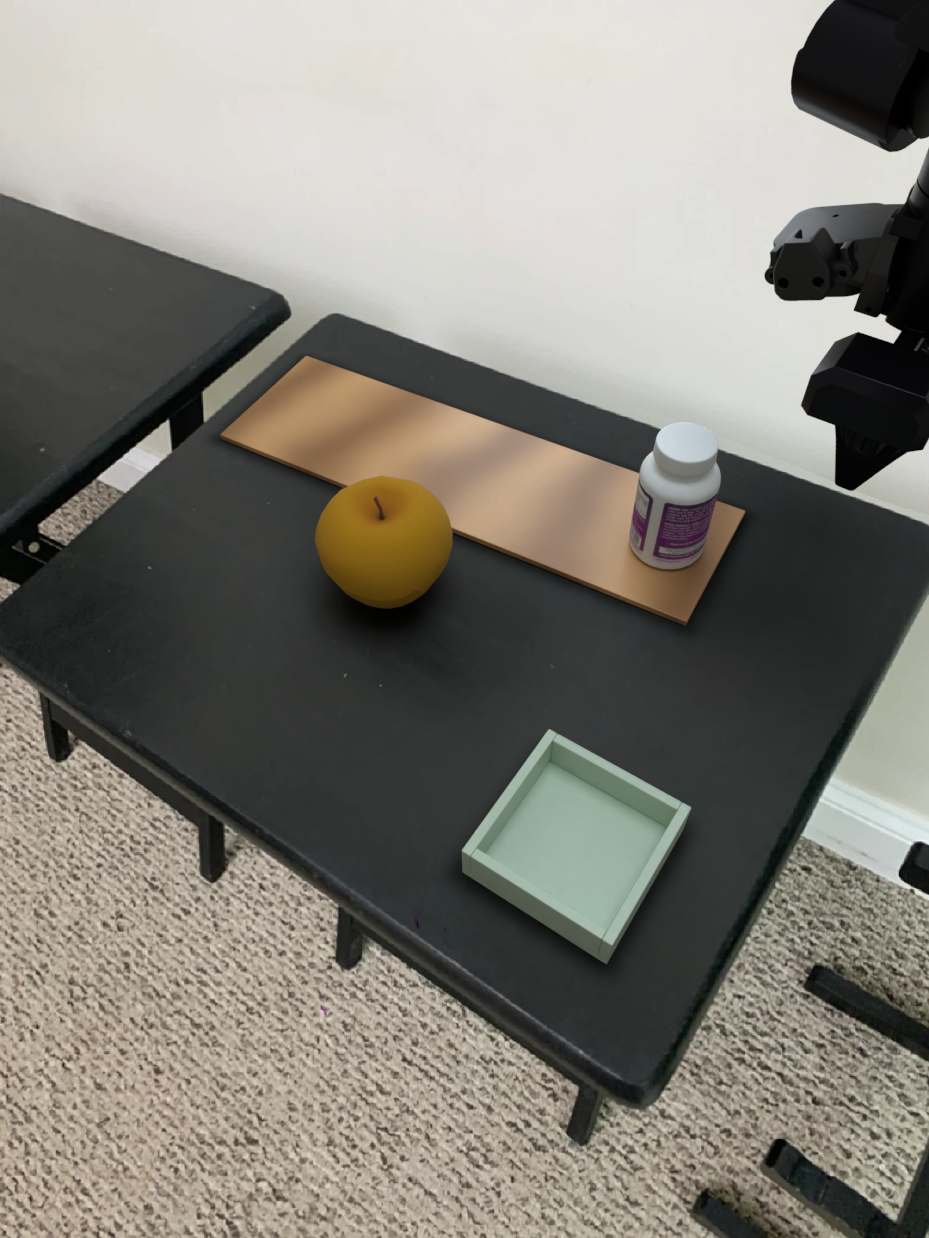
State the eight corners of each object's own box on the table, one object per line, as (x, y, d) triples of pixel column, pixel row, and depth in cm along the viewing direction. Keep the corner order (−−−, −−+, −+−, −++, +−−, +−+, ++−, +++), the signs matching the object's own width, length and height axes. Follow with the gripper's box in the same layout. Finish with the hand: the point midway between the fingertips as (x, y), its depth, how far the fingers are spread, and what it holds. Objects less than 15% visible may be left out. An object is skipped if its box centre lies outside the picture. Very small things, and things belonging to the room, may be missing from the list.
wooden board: (744, 515, 69) (745, 510, 69) (685, 626, 63) (686, 622, 62) (306, 360, 82) (306, 355, 81) (220, 439, 75) (219, 434, 75)
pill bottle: (714, 536, 67) (744, 432, 59) (684, 583, 64) (711, 481, 57) (646, 508, 69) (667, 404, 61) (614, 553, 66) (631, 450, 59)
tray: (683, 830, 53) (692, 807, 51) (606, 964, 49) (612, 945, 46) (546, 753, 57) (548, 728, 54) (462, 872, 52) (460, 850, 50)
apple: (433, 530, 68) (428, 436, 61) (472, 619, 63) (471, 528, 56) (314, 559, 67) (295, 466, 60) (344, 654, 62) (326, 564, 54)
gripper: (878, 79, 51) (801, 324, 64) (740, 227, 42) (681, 481, 54) (1093, 128, 47) (967, 379, 60) (994, 303, 38) (868, 559, 50)
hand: (871, 442), depth 56 cm, fingers open, 9 cm apart
